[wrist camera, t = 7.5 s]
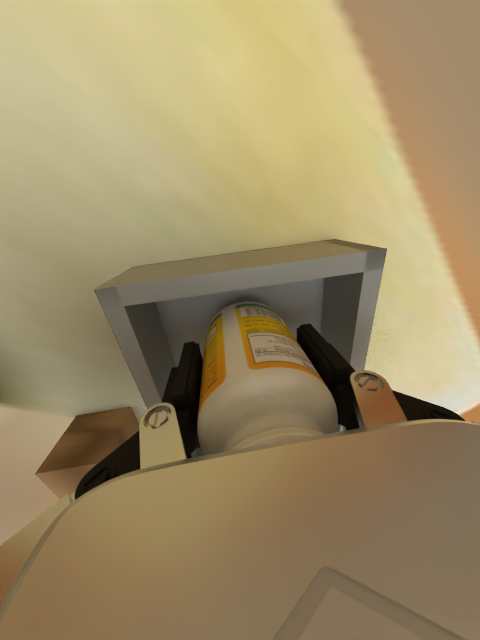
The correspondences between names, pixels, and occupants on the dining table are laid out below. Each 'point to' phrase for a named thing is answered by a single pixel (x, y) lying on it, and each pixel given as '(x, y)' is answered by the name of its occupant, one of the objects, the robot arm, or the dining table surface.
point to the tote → (237, 286)
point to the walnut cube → (85, 447)
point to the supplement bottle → (258, 383)
